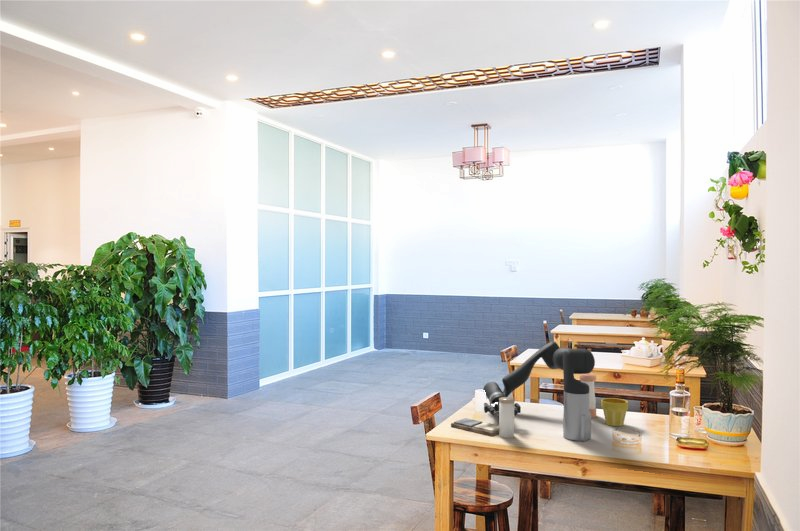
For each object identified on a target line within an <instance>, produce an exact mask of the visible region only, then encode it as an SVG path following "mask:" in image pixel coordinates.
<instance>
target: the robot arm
mask: <svg viewBox="0 0 800 531" xmlns="http://www.w3.org/2000/svg"><path fill="white" fill-rule="evenodd" d="M541 358H542V360H543V362H544V364H545V365H546V366H547V367H548V368H549V369H551V370H563V372H562V373H563V423H562V424H563V426H562V427H563V430H562V431H563V433H562V434H563V438H565V439H567V440H571V441H581V442H585V441H587V440H589V439H591V438H592V418H591V412H589V385H588V384H586V383H583V382H581V380H578V379H576V377H575V375H576V374H577V375H580V374H588V373H591V372H593V370H594V368H595V365H596V364H595V363H596V360H595V357H594V354H593V353H592V351H591V350H589V349H586V348H571V347H560V346H559V345H558V343H557V342H556V341H550V342H548V343H546V344H545V345H543V346H541V347H540V348H539V349H538V350H537V351H535V352H534V353H533V354H532V355H530V356H529V357H528V358H527V359H526V360H525V361H524V362H523V363H522V364H520V365H519V366H518V367H516V369H513V370H512V371H511V372H510V373H508V374H507V375H505V376H504V377H502V379H501V381H502V385H503V387H504V388H503V390H502V389H501V388H500V386H499V384H498V383H497V382H496V381H489V382H487V383H486V384H485V385H484V386H483V390H485V392H486V395H485V396H486V397H487V399H488V402H489V403H488V402H484V403H483V410H484V413H489V414H491V415H492V416H495V414H496V415H499V398H501V397H509V395H511V393H513V392H514V391H516V390H517V389H518V388H519V387H521V386H522V385H524V384H525V383H526V382H527V381H528V379H529V378H530V375H531V373H532V371H533V368H534V367H535V364H536V363H537V362H538V361H539V359H541ZM483 390H482V391H483ZM521 408H522V407H521V405H520V404H519V403H517V402H514V416H517V415H518V414H520V413H521V412H522V411H521V410H522V409H521Z"/></svg>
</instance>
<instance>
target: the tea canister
mask: <svg viewBox="0 0 800 531" xmlns="http://www.w3.org/2000/svg"><path fill="white" fill-rule="evenodd" d="M515 401H516V399H515V398H513V397H509V396H508V397H501V398H499V414H498V416H499V417H498V422H499V423H498V425H499V433H498V436H499V437H501V438H504V439H512V438H514V437H515V415H514V404H515V403H516V402H515Z"/></svg>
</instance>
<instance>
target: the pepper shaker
mask: <svg viewBox="0 0 800 531" xmlns="http://www.w3.org/2000/svg"><path fill="white" fill-rule="evenodd" d="M578 376H579V377H578V378H579V381H580V382H583V383H586V384H588V385H589V412H591V419H592V418H597V407H596V402H597V400H596V394H595V381H597V376H596V375H595V374H594V373H593V372H592V373H591V372H590V373H588V374H579V375H578Z"/></svg>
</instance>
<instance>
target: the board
mask: <svg viewBox="0 0 800 531" xmlns="http://www.w3.org/2000/svg"><path fill="white" fill-rule="evenodd" d="M450 427H452V428H454V429H455V428H456V429H460V430H465V431H469V432H473V433H477V434H482V435H486V436H491V437H493V436H495V435H497V434H498V435H499V424H495V423H491V422H490V423H489V422H487V421H485V422H483V421H481V420H480V421H479V420H476V419H471V418H467V417H463V418H460V419H457V420H456V421H453V422H451V423H450Z"/></svg>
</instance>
